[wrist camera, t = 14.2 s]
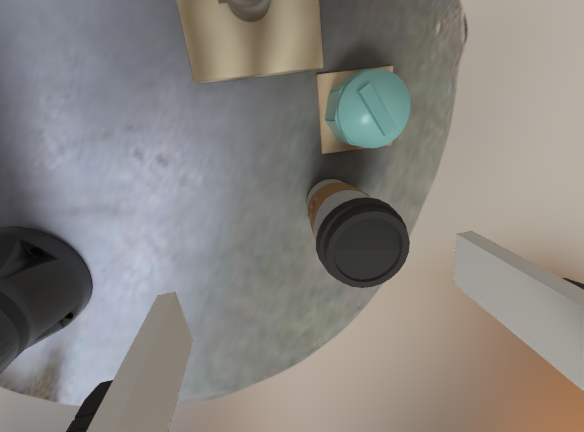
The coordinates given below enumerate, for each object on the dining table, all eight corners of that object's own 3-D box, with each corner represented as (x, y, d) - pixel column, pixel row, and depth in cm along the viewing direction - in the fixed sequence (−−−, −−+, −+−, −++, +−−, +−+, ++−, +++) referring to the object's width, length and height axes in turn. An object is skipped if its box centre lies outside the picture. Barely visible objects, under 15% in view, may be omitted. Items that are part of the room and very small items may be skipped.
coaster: (321, 153, 35) (322, 153, 35) (315, 75, 32) (316, 74, 32) (390, 144, 36) (392, 144, 35) (390, 66, 33) (393, 65, 32)
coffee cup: (301, 168, 36) (326, 202, 22) (363, 172, 37) (425, 207, 23) (296, 228, 39) (315, 292, 25) (354, 230, 40) (404, 293, 26)
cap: (314, 104, 33) (326, 101, 26) (365, 63, 32) (391, 49, 26) (347, 154, 35) (366, 163, 29) (396, 117, 34) (427, 118, 28)
